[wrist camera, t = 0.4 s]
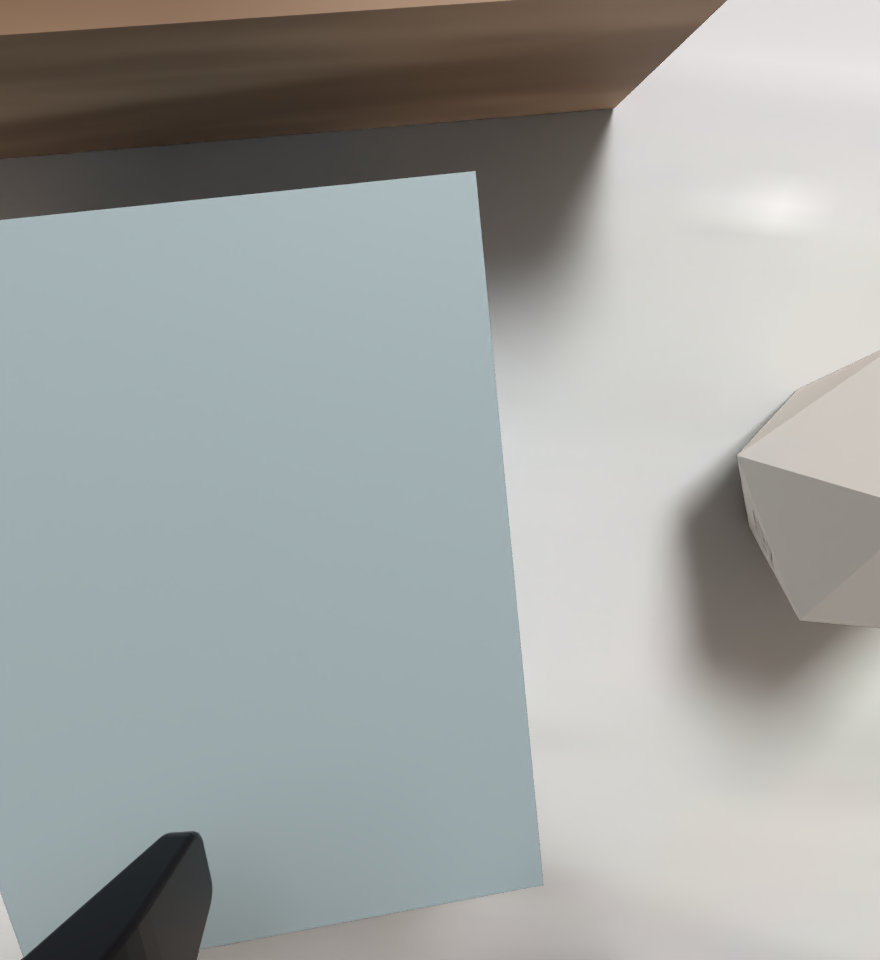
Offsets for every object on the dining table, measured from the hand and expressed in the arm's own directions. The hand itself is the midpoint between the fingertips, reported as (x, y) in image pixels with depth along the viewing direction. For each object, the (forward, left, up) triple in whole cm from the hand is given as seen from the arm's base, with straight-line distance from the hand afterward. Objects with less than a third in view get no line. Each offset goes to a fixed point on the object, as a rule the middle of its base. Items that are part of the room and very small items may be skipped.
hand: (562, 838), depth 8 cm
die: (0, -14, -15) cm, 20 cm away
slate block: (+1, +5, -15) cm, 16 cm away
